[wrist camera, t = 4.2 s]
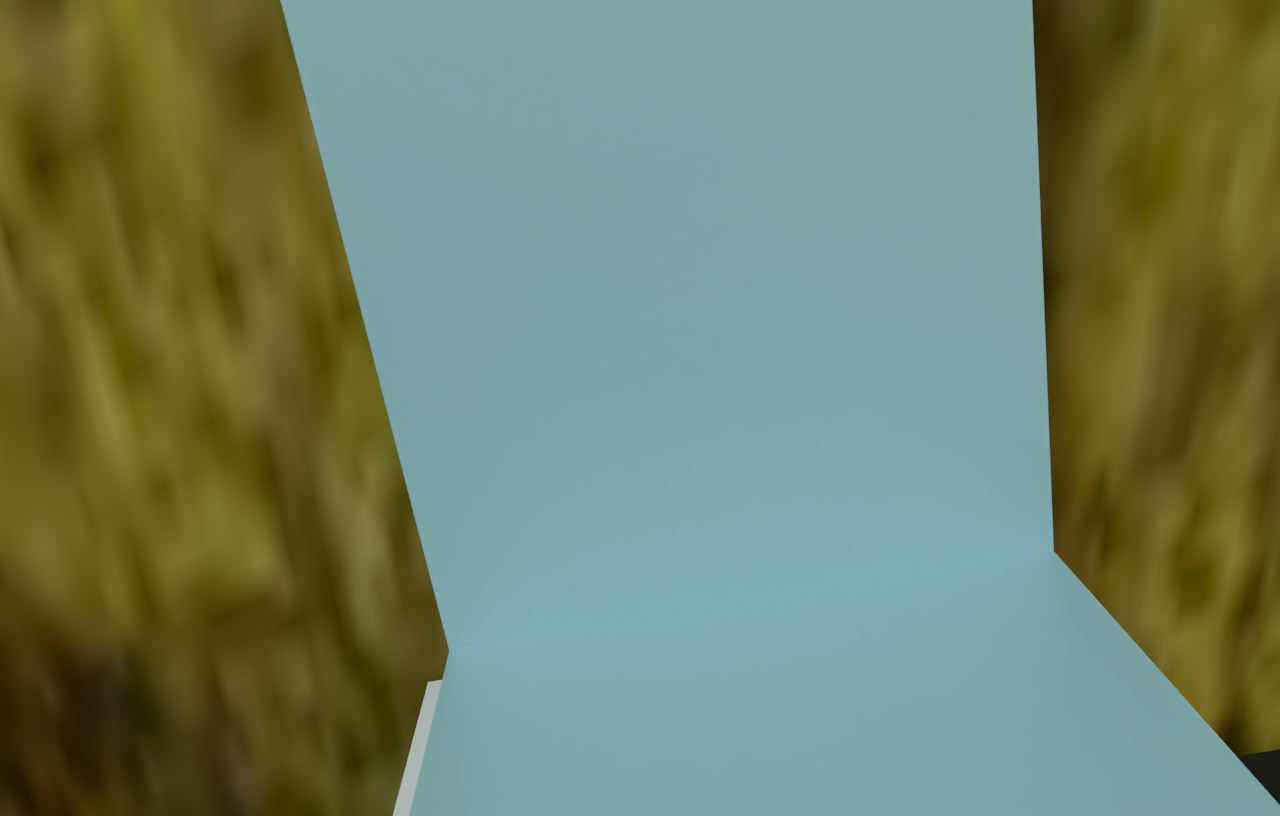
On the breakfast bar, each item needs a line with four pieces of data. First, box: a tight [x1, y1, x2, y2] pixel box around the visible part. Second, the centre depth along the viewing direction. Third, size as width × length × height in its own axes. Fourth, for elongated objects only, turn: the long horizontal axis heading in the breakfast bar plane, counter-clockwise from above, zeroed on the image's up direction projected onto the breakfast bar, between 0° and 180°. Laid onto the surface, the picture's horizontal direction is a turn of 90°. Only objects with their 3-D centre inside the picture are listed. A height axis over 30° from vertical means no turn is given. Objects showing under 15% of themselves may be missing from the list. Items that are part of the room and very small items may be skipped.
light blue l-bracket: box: [281, 0, 1280, 816], centre depth 9 cm, size 23×8×9 cm, turn 9°
